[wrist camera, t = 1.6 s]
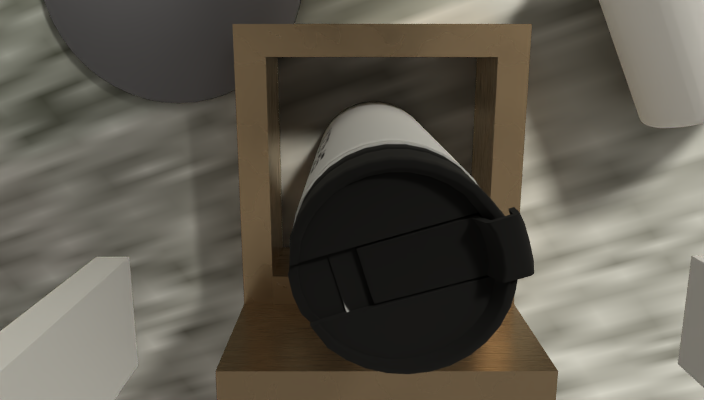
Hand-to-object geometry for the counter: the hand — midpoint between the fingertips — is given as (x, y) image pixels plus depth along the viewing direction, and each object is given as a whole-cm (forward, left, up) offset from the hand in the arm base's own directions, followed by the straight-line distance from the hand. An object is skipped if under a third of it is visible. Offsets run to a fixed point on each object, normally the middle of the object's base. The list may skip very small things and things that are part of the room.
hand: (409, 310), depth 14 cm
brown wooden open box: (0, 0, -21) cm, 21 cm away
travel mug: (0, 0, -22) cm, 22 cm away
